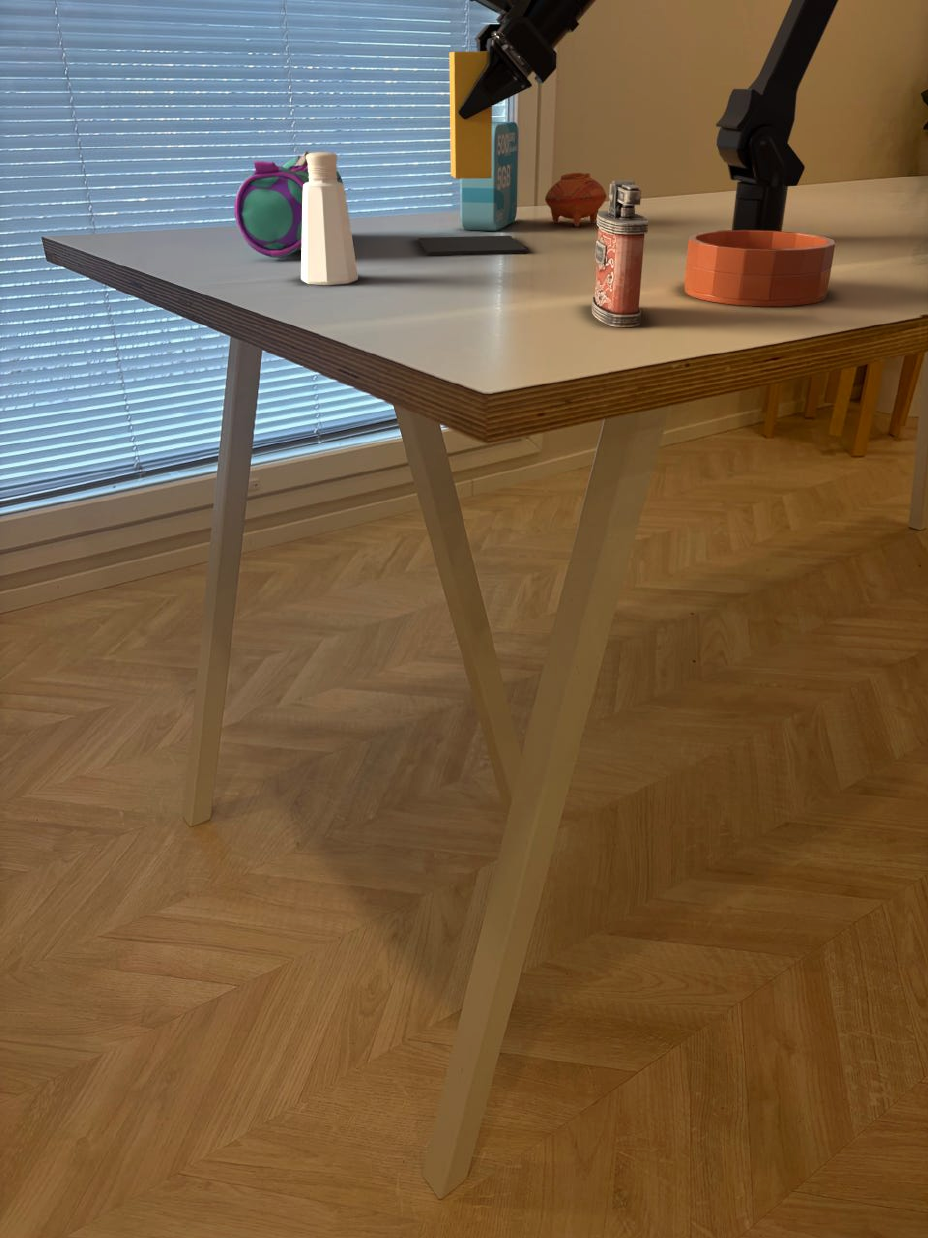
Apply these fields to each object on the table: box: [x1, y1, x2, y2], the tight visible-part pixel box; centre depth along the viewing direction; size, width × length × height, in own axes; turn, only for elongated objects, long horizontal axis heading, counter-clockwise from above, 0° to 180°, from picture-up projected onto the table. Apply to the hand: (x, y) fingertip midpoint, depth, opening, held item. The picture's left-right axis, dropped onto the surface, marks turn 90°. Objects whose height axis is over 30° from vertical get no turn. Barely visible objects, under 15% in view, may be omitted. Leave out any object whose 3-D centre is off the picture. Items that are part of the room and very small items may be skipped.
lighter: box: [591, 179, 649, 328], centre depth 78 cm, size 8×3×10 cm, turn 5°
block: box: [448, 51, 493, 180], centre depth 107 cm, size 4×4×12 cm
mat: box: [417, 235, 528, 256], centre depth 113 cm, size 11×11×1 cm
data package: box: [459, 121, 519, 232], centre depth 126 cm, size 12×4×12 cm, turn 164°
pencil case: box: [233, 149, 344, 259], centre depth 111 cm, size 21×9×10 cm, turn 178°
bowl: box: [683, 229, 836, 307], centre depth 87 cm, size 12×12×4 cm
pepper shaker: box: [300, 151, 359, 286], centre depth 92 cm, size 5×5×11 cm
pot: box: [544, 172, 608, 228], centre depth 129 cm, size 8×8×7 cm
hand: (458, 115), depth 107 cm, fingers closed on block, 4 cm apart
